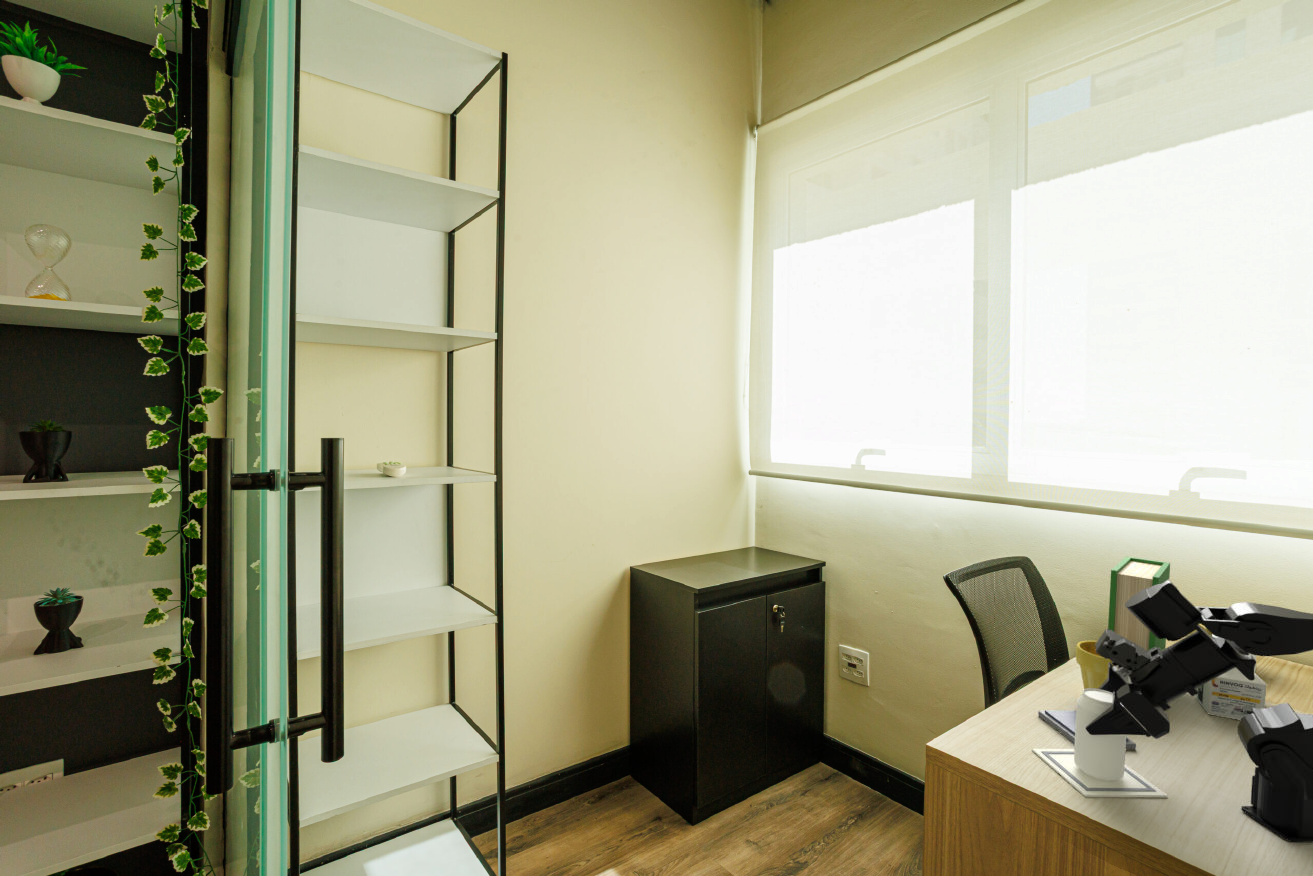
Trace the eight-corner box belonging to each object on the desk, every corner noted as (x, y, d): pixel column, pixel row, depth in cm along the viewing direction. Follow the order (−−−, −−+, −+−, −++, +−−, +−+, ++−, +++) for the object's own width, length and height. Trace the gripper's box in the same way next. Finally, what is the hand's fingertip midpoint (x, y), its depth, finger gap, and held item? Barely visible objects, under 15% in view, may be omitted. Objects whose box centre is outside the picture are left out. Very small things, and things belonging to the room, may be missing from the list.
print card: (1167, 797, 88) (1167, 794, 88) (1084, 797, 88) (1085, 794, 88) (1104, 751, 100) (1104, 748, 100) (1031, 750, 100) (1032, 748, 100)
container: (1207, 715, 113) (1212, 645, 113) (1195, 698, 120) (1198, 632, 119) (1264, 725, 110) (1268, 653, 109) (1247, 707, 116) (1252, 640, 116)
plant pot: (1146, 718, 111) (1149, 665, 111) (1077, 704, 116) (1079, 653, 116) (1134, 696, 120) (1137, 646, 120) (1071, 683, 125) (1073, 636, 125)
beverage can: (1114, 766, 95) (1119, 690, 95) (1130, 789, 89) (1135, 708, 89) (1068, 758, 97) (1071, 683, 97) (1080, 780, 91) (1084, 700, 91)
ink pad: (1135, 749, 101) (1136, 741, 101) (1081, 749, 100) (1081, 741, 100) (1087, 716, 112) (1087, 708, 112) (1038, 716, 111) (1038, 708, 111)
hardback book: (1151, 701, 118) (1158, 577, 117) (1104, 688, 124) (1111, 570, 123) (1163, 674, 131) (1170, 562, 130) (1120, 664, 136) (1126, 556, 135)
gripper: (1131, 602, 98) (1046, 654, 105) (1143, 636, 83) (1042, 695, 90) (1193, 662, 94) (1101, 712, 101) (1217, 710, 79) (1107, 766, 86)
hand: (1086, 718), depth 94 cm, fingers open, 9 cm apart
